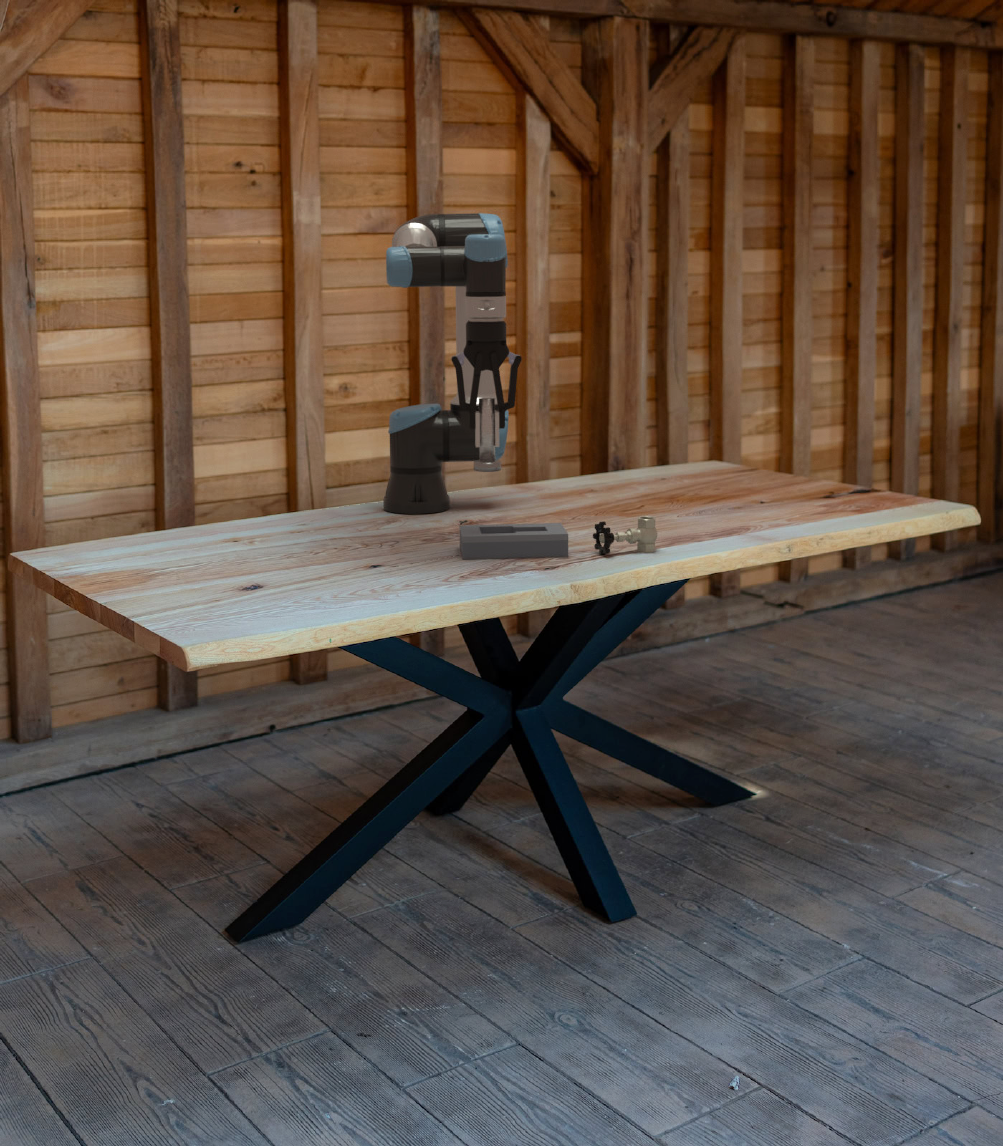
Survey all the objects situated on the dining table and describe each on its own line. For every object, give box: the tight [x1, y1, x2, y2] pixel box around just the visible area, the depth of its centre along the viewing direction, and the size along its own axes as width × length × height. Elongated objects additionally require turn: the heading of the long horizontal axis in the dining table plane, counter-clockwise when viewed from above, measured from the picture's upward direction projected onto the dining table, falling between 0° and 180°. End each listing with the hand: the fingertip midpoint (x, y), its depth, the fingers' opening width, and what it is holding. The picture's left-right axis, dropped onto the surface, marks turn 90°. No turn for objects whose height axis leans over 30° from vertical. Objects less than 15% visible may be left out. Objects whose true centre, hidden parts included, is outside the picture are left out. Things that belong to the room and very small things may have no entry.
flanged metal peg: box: [473, 398, 502, 473], centre depth 255 cm, size 5×5×14 cm
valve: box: [592, 515, 658, 556], centre depth 259 cm, size 7×7×12 cm
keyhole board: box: [458, 522, 569, 560], centre depth 260 cm, size 20×11×4 cm, turn 95°
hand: (487, 445), depth 255 cm, fingers closed on flanged metal peg, 3 cm apart
